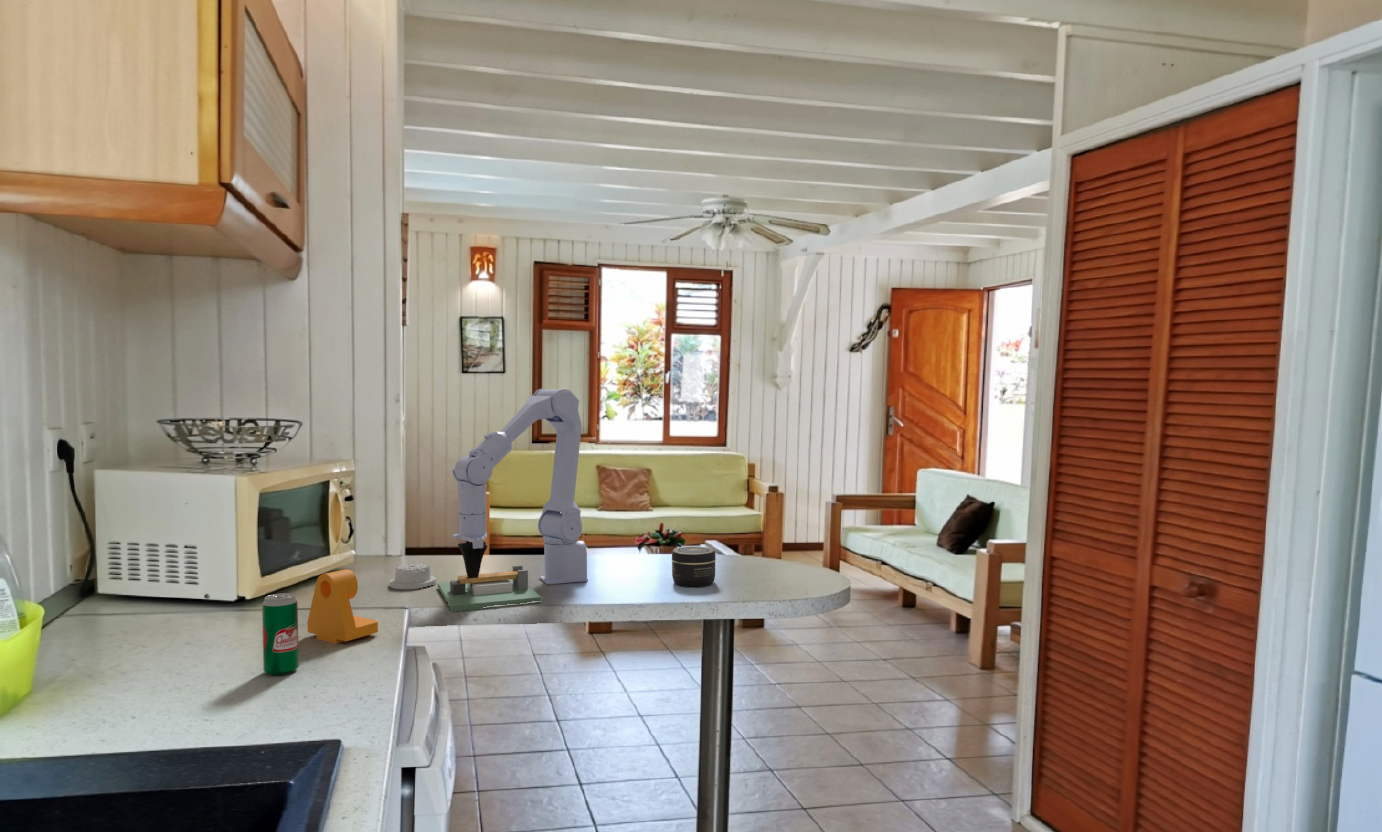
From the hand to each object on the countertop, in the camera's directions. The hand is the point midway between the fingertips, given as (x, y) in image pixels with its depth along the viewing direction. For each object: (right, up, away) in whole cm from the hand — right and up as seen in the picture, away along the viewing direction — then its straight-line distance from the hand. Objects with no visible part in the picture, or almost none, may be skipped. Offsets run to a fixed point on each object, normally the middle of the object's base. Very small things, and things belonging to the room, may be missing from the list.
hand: (472, 576), depth 189 cm
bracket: (-16, -6, -29) cm, 34 cm away
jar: (+47, -4, +12) cm, 49 cm away
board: (+3, -4, +1) cm, 5 cm away
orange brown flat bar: (+4, -1, +2) cm, 4 cm away
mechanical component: (-16, -4, +12) cm, 21 cm away
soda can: (-18, -6, -49) cm, 52 cm away
